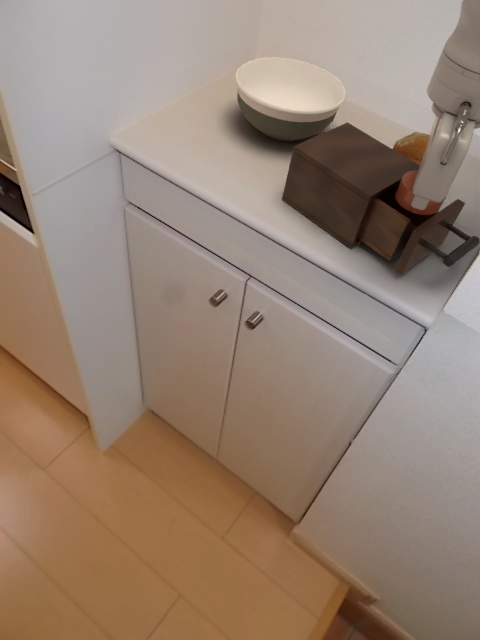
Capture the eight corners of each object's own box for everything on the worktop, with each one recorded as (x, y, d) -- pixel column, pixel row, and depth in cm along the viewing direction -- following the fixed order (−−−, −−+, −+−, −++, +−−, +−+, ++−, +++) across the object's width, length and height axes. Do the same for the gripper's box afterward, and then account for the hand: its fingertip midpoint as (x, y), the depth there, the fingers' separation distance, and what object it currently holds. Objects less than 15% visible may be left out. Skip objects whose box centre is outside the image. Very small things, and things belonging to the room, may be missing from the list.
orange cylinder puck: (411, 181, 72) (418, 165, 70) (448, 204, 70) (456, 188, 68) (386, 196, 69) (393, 180, 67) (423, 221, 66) (432, 204, 64)
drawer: (470, 262, 74) (496, 221, 68) (429, 296, 68) (453, 255, 63) (374, 199, 81) (391, 157, 75) (330, 225, 75) (344, 183, 70)
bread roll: (438, 191, 92) (461, 146, 89) (433, 195, 84) (459, 146, 80) (386, 169, 95) (407, 125, 91) (376, 171, 86) (399, 122, 83)
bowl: (293, 94, 101) (303, 51, 95) (354, 145, 92) (369, 101, 86) (210, 110, 93) (214, 64, 87) (267, 168, 84) (276, 120, 78)
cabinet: (398, 217, 80) (421, 166, 73) (350, 249, 74) (370, 196, 67) (331, 173, 85) (347, 122, 79) (281, 199, 79) (293, 146, 72)
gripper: (493, 138, 50) (434, 245, 61) (505, 61, 63) (455, 160, 74) (429, 118, 51) (382, 227, 62) (454, 46, 64) (412, 146, 75)
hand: (422, 190), depth 68 cm, fingers closed on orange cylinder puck, 6 cm apart
